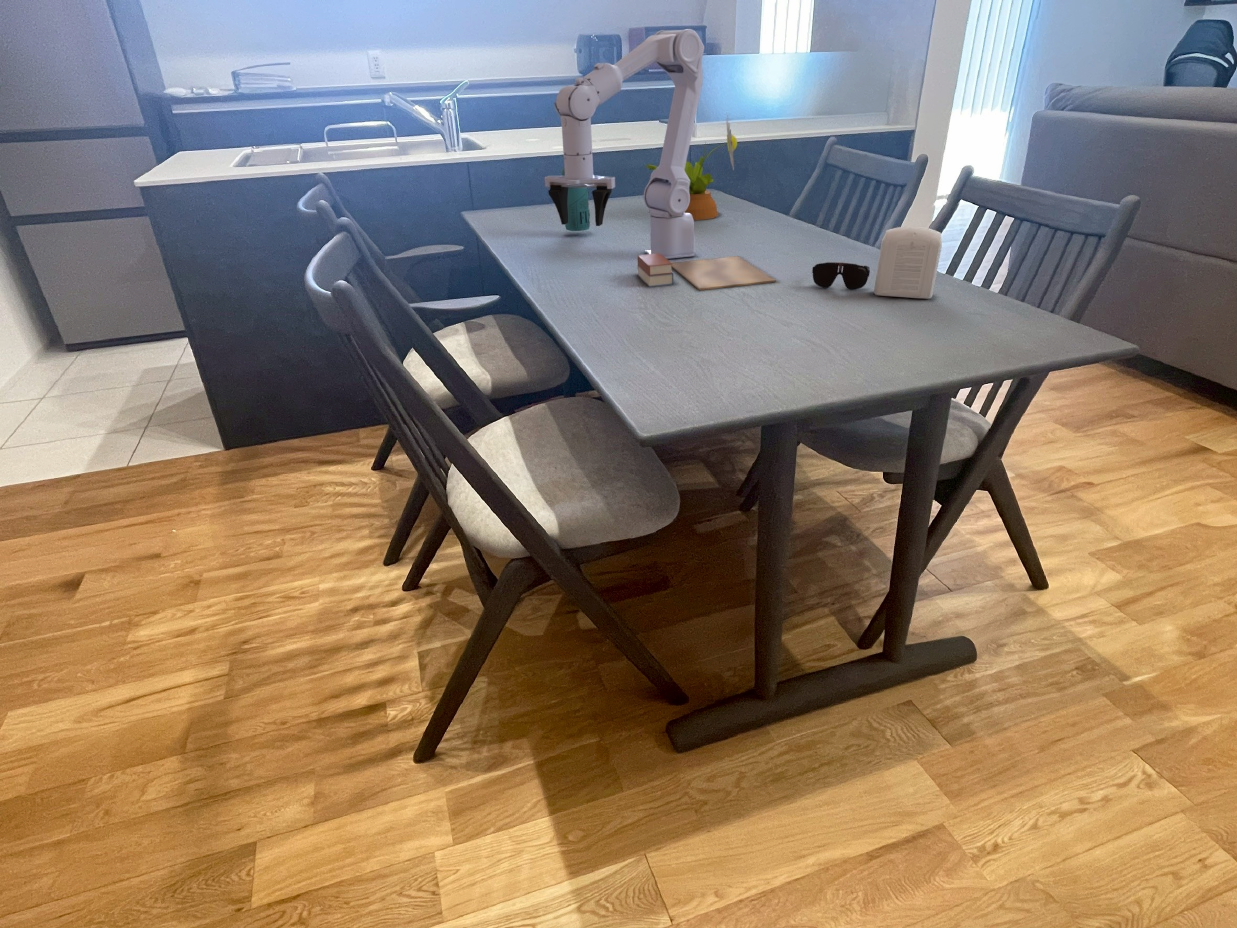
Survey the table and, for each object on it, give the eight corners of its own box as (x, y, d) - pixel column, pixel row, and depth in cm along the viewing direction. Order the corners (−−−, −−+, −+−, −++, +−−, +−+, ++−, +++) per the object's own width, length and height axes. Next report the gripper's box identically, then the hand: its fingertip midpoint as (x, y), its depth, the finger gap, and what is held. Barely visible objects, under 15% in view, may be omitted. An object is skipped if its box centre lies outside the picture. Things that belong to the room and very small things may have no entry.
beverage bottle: (581, 238, 184) (576, 152, 175) (559, 235, 188) (553, 151, 178) (595, 232, 189) (591, 148, 179) (574, 230, 192) (569, 147, 182)
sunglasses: (809, 287, 142) (812, 261, 140) (816, 278, 152) (819, 253, 150) (866, 291, 139) (870, 264, 137) (869, 282, 149) (873, 256, 147)
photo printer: (931, 293, 137) (944, 225, 131) (933, 300, 133) (945, 230, 127) (873, 290, 140) (883, 223, 134) (873, 297, 136) (882, 228, 130)
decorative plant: (739, 223, 193) (744, 118, 181) (647, 226, 194) (645, 121, 181) (727, 203, 216) (731, 109, 204) (645, 206, 217) (644, 112, 205)
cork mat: (737, 257, 164) (737, 256, 163) (775, 282, 147) (775, 280, 146) (668, 264, 160) (668, 262, 160) (699, 290, 144) (699, 288, 143)
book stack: (660, 272, 155) (660, 252, 153) (673, 284, 148) (673, 263, 145) (637, 275, 154) (637, 255, 152) (649, 287, 147) (649, 266, 144)
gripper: (536, 156, 145) (542, 227, 152) (605, 157, 141) (608, 230, 148) (550, 151, 151) (555, 219, 158) (617, 152, 147) (619, 222, 153)
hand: (582, 224), depth 153 cm, fingers open, 7 cm apart
